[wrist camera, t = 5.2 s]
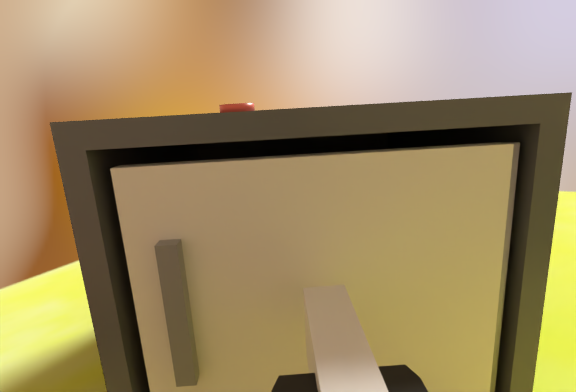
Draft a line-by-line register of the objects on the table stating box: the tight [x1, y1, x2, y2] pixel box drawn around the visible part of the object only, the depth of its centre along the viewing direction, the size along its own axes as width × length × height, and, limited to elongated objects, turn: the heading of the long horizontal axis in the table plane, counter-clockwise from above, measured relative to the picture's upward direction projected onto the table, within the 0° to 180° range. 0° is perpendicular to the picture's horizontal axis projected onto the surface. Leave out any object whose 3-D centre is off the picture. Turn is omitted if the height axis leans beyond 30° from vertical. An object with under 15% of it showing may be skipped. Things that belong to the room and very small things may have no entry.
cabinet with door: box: [50, 93, 572, 392], centre depth 22 cm, size 20×18×16 cm
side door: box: [110, 142, 520, 392], centre depth 14 cm, size 15×1×12 cm, turn 92°
